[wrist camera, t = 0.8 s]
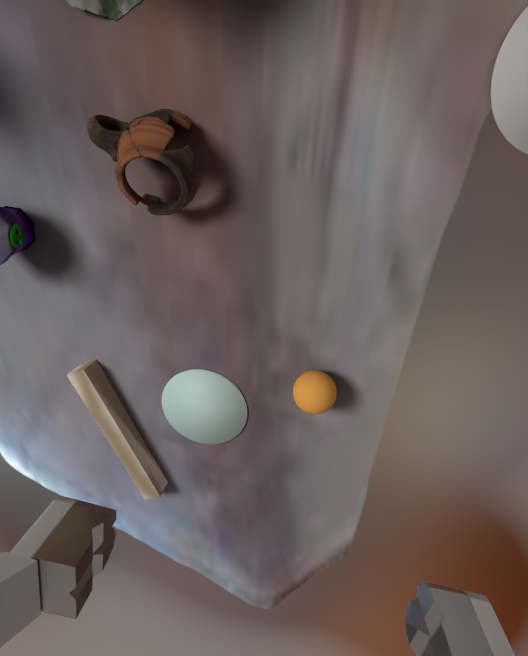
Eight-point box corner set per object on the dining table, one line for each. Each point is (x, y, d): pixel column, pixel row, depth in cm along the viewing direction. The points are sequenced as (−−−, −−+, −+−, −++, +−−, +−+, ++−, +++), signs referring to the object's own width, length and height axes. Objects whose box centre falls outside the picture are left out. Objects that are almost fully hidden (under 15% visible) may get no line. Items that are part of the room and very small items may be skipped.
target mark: (226, 359, 48) (226, 359, 48) (260, 434, 52) (260, 435, 52) (147, 381, 51) (146, 382, 51) (184, 450, 55) (184, 451, 55)
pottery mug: (221, 123, 37) (206, 163, 33) (199, 195, 45) (184, 236, 40) (105, 68, 34) (69, 103, 29) (102, 154, 42) (73, 194, 37)
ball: (328, 358, 45) (329, 379, 40) (341, 393, 47) (343, 418, 42) (289, 368, 47) (285, 390, 42) (302, 402, 48) (299, 427, 43)
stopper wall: (96, 359, 51) (83, 369, 48) (167, 482, 58) (160, 496, 56) (80, 364, 52) (66, 374, 49) (152, 484, 59) (144, 499, 57)
